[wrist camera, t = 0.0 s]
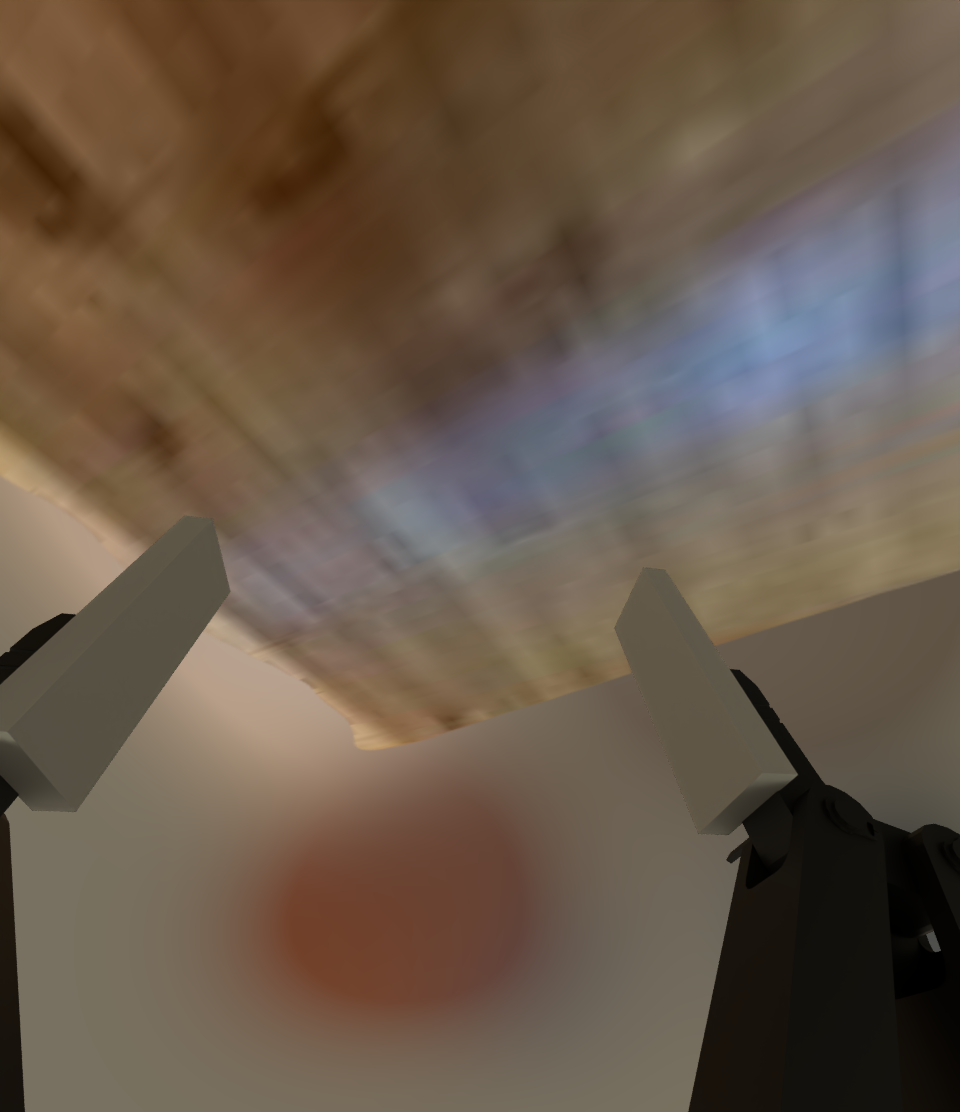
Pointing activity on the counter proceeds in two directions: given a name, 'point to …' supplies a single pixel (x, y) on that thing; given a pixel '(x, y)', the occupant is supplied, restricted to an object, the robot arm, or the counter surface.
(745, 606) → the counter surface
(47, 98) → the counter surface
